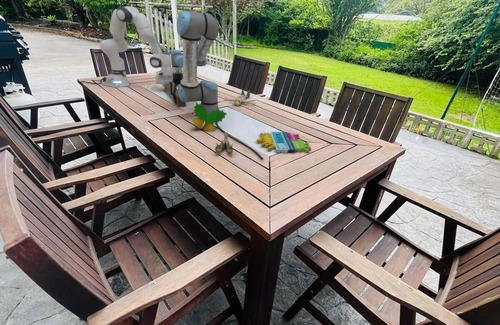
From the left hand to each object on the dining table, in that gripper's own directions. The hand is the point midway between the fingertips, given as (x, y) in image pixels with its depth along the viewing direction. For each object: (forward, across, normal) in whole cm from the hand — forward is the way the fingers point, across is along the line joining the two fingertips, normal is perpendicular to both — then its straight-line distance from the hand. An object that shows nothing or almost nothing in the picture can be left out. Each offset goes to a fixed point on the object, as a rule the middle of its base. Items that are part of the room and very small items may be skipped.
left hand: (168, 88), depth 233 cm
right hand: (+2, 0, +38) cm, 38 cm away
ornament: (+2, -5, +94) cm, 94 cm away
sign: (+2, -37, +128) cm, 133 cm away
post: (+3, 0, +19) cm, 19 cm away
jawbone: (+2, -1, +126) cm, 126 cm away
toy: (+2, -50, +46) cm, 68 cm away
